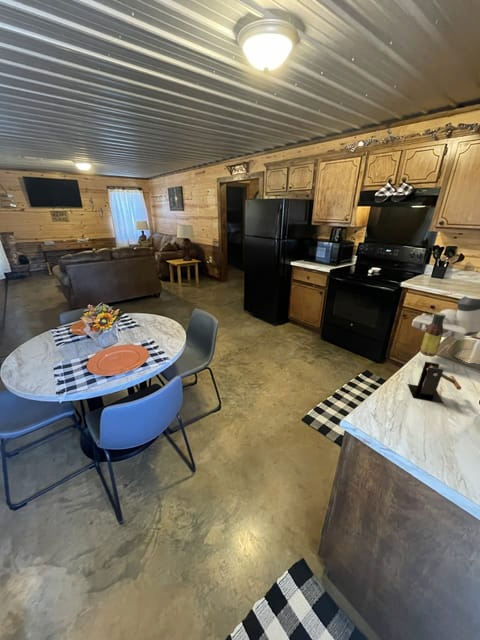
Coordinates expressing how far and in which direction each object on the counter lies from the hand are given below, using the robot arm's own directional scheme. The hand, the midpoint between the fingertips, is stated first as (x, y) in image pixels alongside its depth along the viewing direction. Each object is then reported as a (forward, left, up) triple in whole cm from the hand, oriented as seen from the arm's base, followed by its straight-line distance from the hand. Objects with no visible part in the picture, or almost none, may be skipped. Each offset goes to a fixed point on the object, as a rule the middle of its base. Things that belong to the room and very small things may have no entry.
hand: (433, 332), depth 117 cm
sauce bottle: (-1, -1, -11) cm, 11 cm away
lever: (+3, +25, -8) cm, 26 cm away
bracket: (+6, +25, -17) cm, 31 cm away
